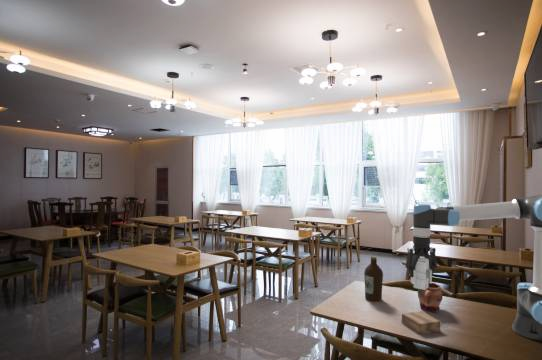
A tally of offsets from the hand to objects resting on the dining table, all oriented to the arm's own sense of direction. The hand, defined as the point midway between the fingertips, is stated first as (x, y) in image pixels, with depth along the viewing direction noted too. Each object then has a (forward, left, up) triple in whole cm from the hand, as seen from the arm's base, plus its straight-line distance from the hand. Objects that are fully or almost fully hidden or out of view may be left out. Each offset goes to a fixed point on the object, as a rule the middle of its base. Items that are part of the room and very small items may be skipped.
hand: (421, 283), depth 156 cm
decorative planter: (-18, -18, -21) cm, 33 cm away
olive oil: (+5, -38, -21) cm, 44 cm away
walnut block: (0, 0, -22) cm, 22 cm away
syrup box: (0, 0, -2) cm, 2 cm away
